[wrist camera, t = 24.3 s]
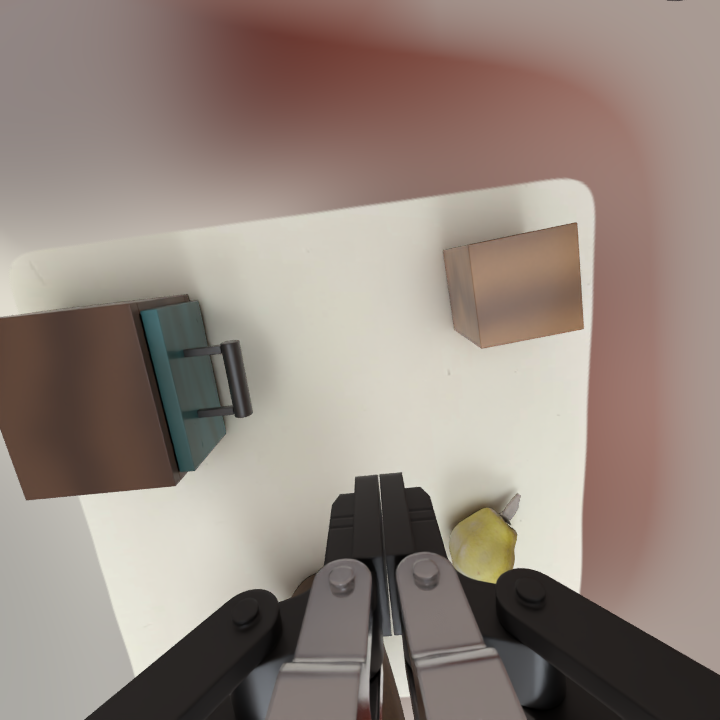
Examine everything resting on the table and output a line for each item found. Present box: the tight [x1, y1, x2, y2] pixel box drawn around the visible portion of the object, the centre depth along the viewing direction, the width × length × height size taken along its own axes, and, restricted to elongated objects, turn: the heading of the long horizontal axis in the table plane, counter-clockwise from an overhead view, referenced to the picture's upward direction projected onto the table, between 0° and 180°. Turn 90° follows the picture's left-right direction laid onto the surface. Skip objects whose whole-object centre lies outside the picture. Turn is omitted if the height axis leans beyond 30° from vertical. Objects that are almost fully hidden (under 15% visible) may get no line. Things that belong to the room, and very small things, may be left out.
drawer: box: [140, 301, 253, 472], centre depth 31 cm, size 15×12×7 cm
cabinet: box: [0, 294, 189, 500], centre depth 31 cm, size 12×14×9 cm
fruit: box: [449, 494, 521, 584], centre depth 36 cm, size 6×6×10 cm
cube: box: [443, 223, 584, 348], centre depth 29 cm, size 7×7×8 cm
